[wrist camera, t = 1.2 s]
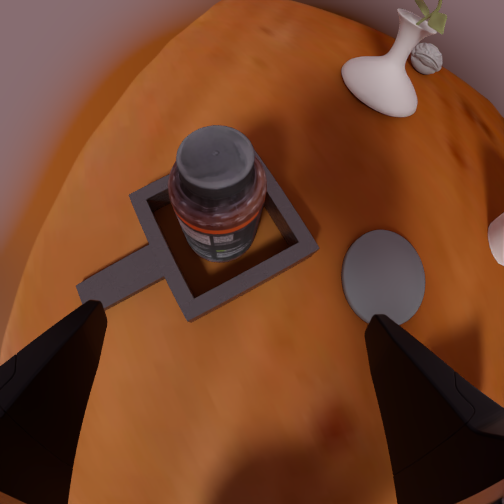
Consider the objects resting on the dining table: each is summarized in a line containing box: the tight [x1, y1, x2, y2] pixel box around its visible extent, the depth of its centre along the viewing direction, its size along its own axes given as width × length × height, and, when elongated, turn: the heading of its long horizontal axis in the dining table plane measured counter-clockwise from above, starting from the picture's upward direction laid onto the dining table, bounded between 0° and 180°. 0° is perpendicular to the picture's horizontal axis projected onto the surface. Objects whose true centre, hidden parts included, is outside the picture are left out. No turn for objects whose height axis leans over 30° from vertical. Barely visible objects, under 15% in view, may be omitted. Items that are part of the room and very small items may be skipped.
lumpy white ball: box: [411, 43, 442, 74], centre depth 33 cm, size 6×7×7 cm
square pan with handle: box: [76, 150, 319, 322], centre depth 22 cm, size 19×11×2 cm, turn 120°
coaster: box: [341, 230, 425, 325], centre depth 24 cm, size 9×9×1 cm
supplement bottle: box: [168, 125, 267, 262], centre depth 19 cm, size 6×6×11 cm
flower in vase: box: [341, 0, 447, 117], centre depth 20 cm, size 13×11×25 cm
